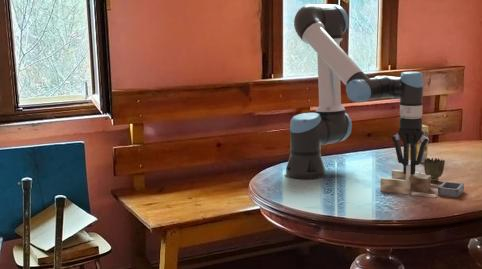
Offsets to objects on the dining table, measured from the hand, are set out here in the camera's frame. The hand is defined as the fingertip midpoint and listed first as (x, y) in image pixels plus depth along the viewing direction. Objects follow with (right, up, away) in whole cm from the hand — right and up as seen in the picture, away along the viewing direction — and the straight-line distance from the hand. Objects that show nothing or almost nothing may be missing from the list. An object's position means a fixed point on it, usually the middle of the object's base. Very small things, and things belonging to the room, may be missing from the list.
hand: (408, 183), depth 219 cm
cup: (+12, 0, +10) cm, 15 cm away
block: (+3, -2, -1) cm, 4 cm away
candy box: (+15, +6, +42) cm, 45 cm away
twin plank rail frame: (+1, -2, 0) cm, 3 cm away
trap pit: (+13, -3, -6) cm, 14 cm away
